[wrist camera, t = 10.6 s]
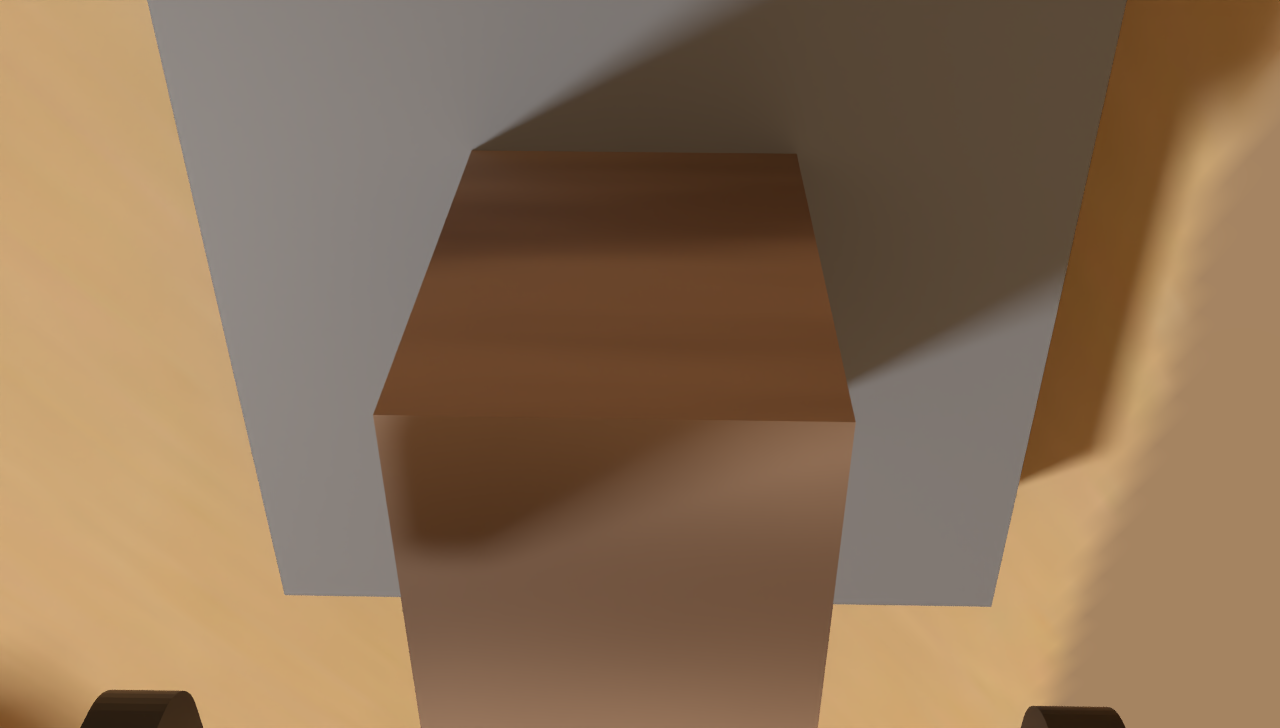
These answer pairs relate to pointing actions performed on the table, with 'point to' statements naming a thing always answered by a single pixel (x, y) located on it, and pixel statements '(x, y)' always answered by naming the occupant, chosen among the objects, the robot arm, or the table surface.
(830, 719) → the table surface
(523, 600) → the walnut block
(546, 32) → the slate base
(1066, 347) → the table surface
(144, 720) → the robot arm
